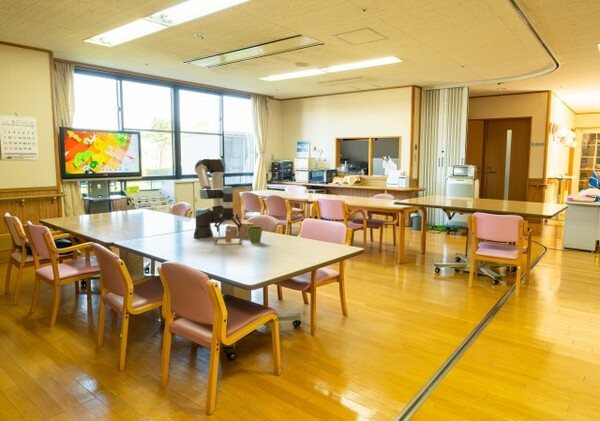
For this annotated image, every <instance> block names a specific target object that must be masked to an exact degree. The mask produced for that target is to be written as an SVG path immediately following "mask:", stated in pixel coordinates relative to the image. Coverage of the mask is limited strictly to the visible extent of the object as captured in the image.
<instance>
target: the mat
mask: <svg viewBox="0 0 600 421" xmlns="http://www.w3.org/2000/svg"><path fill="white" fill-rule="evenodd" d="M239 239H240V241H239V244H232V245H231V246H241V245H242V246H243V239H241V238H239ZM217 242H218V239H215V241H214V244H213V246H218V247H219V245H217Z"/></svg>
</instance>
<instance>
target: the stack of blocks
mask: <svg viewBox="0 0 600 421" xmlns="http://www.w3.org/2000/svg"><path fill="white" fill-rule="evenodd" d="M240 222H241V224H242V226H240V231H238V236H237V227H238V226H237V225H231V224H229V225H227V226H225V231H226V230H231V238H236V239H241V238H245V239H250V235H249V231H248V227H255V222H249V221H245V222H244V221H240ZM237 223H238V224H239V222H238V221H237ZM239 225H240V224H239Z"/></svg>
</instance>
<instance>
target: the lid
mask: <svg viewBox="0 0 600 421" xmlns="http://www.w3.org/2000/svg"><path fill="white" fill-rule="evenodd" d="M224 232H225V238H219V239H217V240H218V242H217V245H218V246H233V245H232V244H239V241H240V239H241V238H232V237H231V230H226V229H225V230H224Z"/></svg>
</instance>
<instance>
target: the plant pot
mask: <svg viewBox="0 0 600 421" xmlns="http://www.w3.org/2000/svg"><path fill="white" fill-rule="evenodd" d="M263 229H264V227H262V226H254V227H248V231H249V235H250V238H249V240H250V243H252V244H254V243H255V244H257V243H261V240H262V232H263Z"/></svg>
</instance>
